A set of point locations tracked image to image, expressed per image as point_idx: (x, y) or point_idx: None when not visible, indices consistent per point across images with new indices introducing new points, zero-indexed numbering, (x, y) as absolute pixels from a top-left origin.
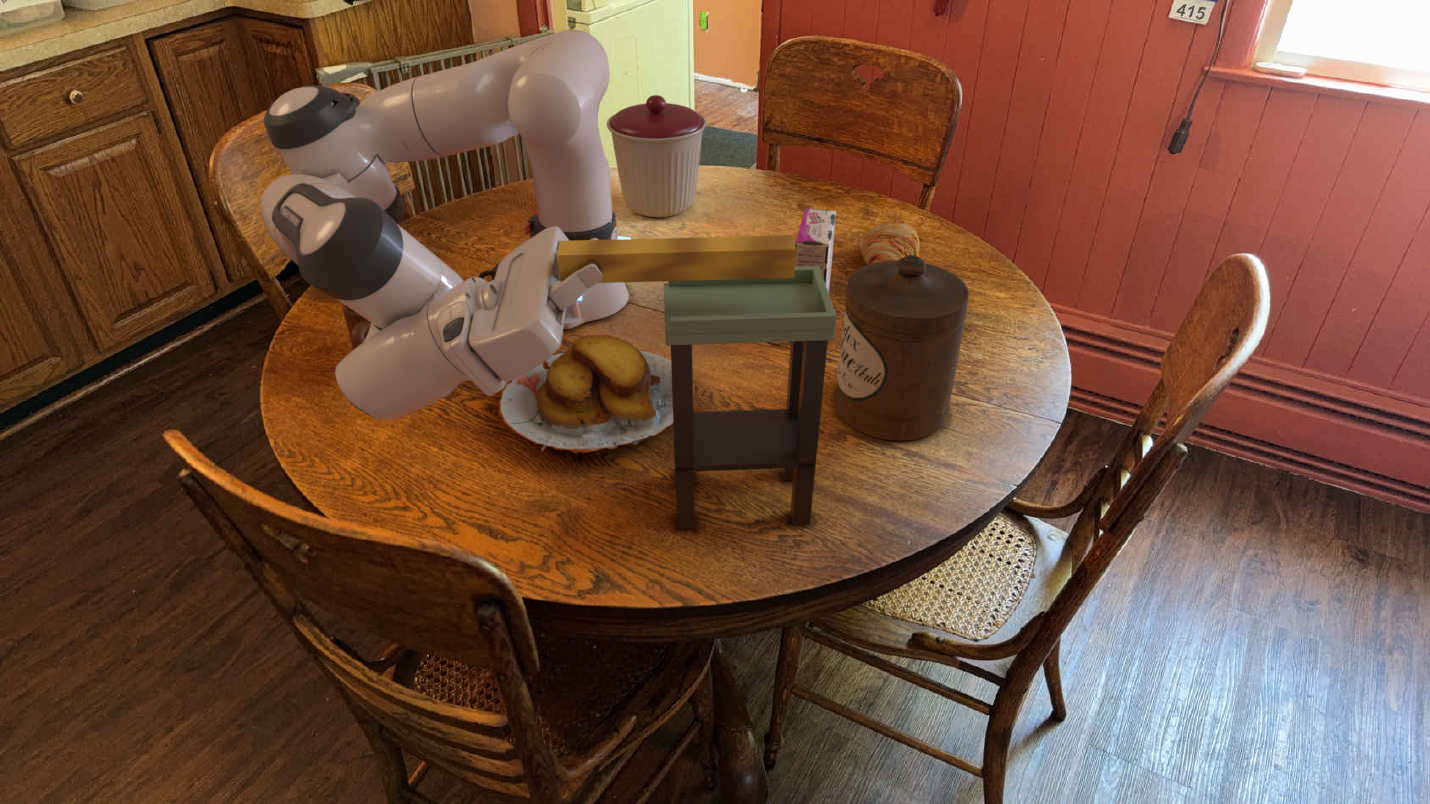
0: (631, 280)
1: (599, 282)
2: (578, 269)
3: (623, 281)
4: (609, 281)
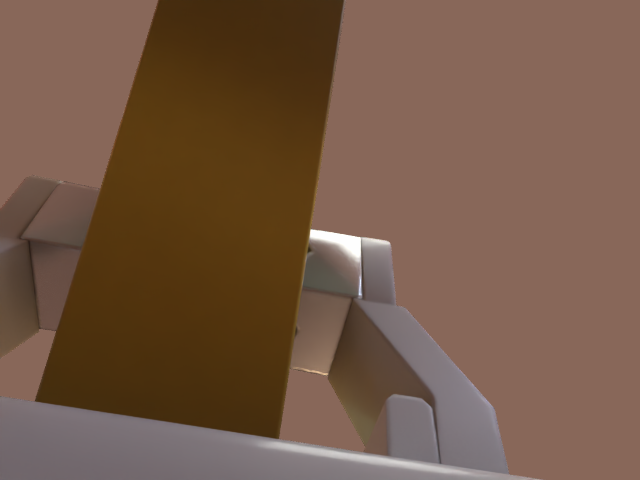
0: (154, 23)
1: (102, 182)
2: (48, 324)
3: (142, 57)
4: (120, 129)
